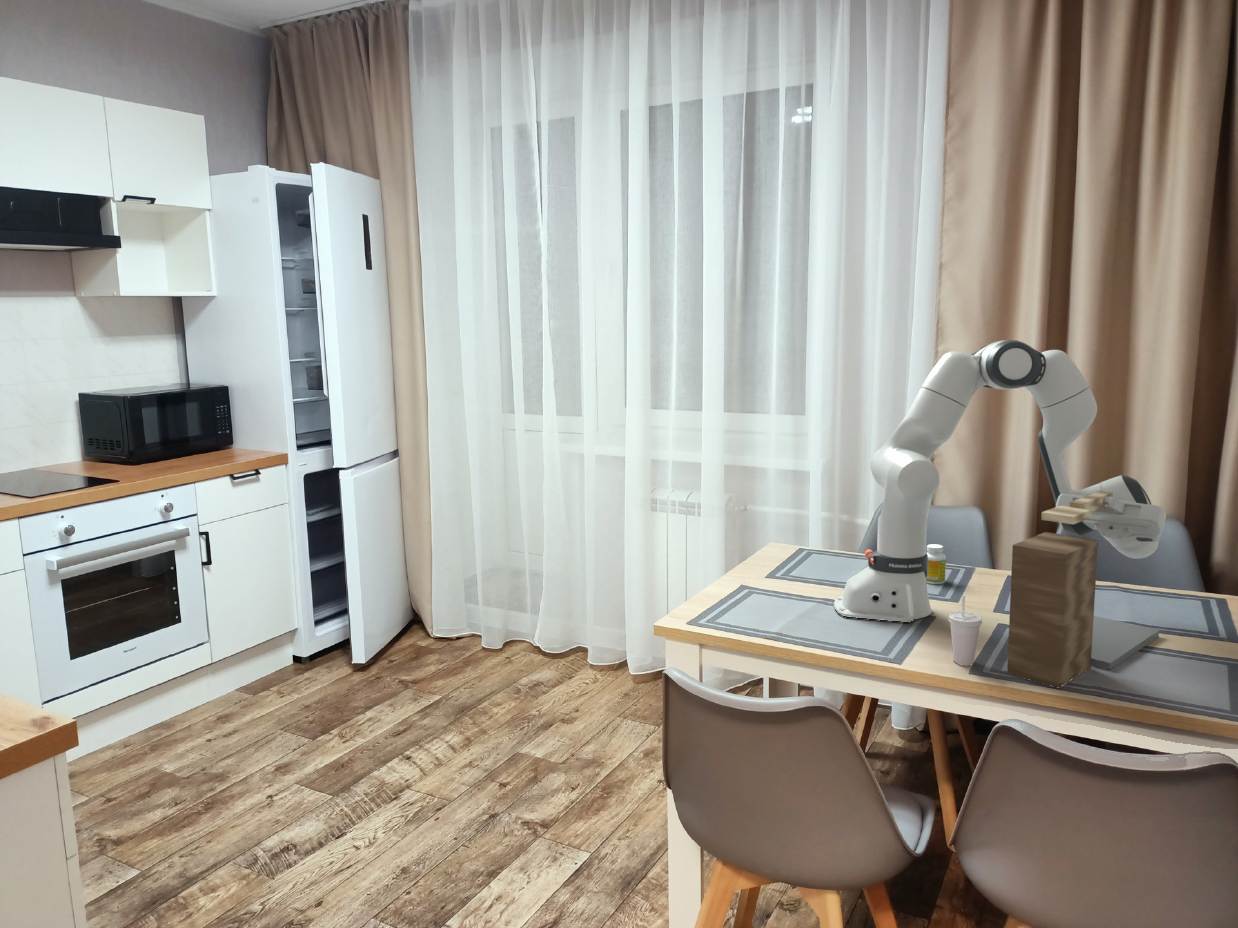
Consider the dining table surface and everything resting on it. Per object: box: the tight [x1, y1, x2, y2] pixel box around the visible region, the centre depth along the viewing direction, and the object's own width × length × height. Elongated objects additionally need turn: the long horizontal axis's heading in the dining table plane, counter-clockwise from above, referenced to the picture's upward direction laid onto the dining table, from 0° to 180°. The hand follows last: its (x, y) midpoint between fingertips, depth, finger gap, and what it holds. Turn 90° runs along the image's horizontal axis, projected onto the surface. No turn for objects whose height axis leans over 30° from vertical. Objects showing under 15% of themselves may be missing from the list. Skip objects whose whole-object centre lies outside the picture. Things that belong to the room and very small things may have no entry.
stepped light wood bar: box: [1040, 491, 1113, 525], centre depth 178 cm, size 23×6×2 cm, turn 131°
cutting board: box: [1091, 615, 1160, 671], centre depth 189 cm, size 26×16×2 cm, turn 131°
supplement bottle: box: [926, 543, 947, 585], centre depth 234 cm, size 5×5×10 cm
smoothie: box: [948, 595, 983, 666], centre depth 180 cm, size 6×6×14 cm
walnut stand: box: [1006, 531, 1099, 689], centre depth 173 cm, size 14×10×26 cm
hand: (1097, 498), depth 182 cm, fingers closed on stepped light wood bar, 2 cm apart
